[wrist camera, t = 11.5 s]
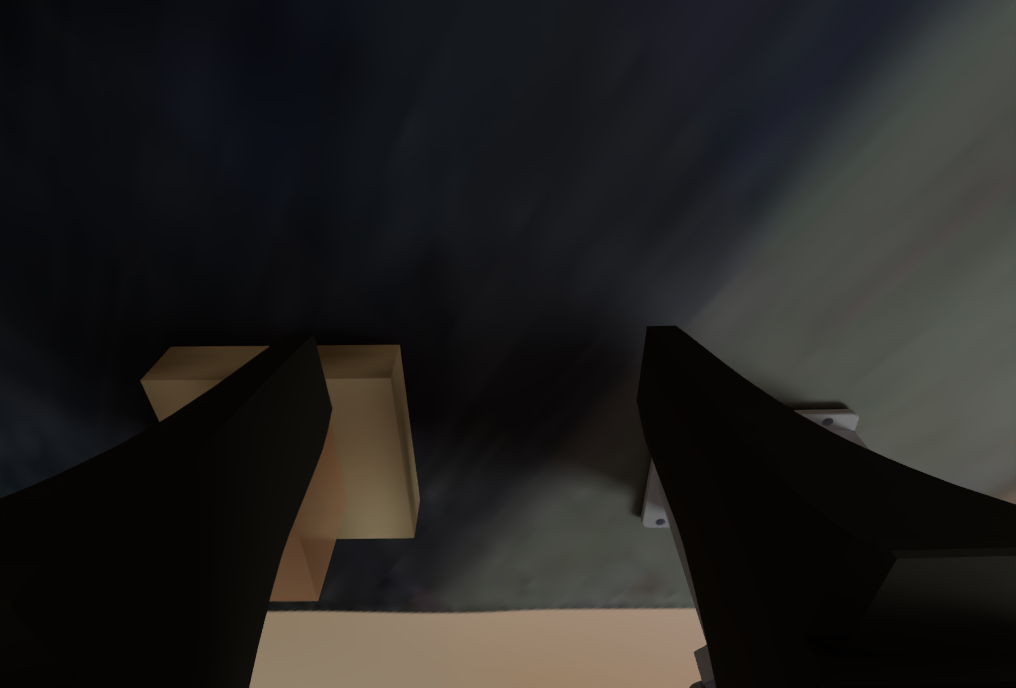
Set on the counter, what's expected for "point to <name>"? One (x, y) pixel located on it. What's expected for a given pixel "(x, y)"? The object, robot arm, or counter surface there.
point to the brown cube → (313, 532)
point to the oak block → (354, 422)
